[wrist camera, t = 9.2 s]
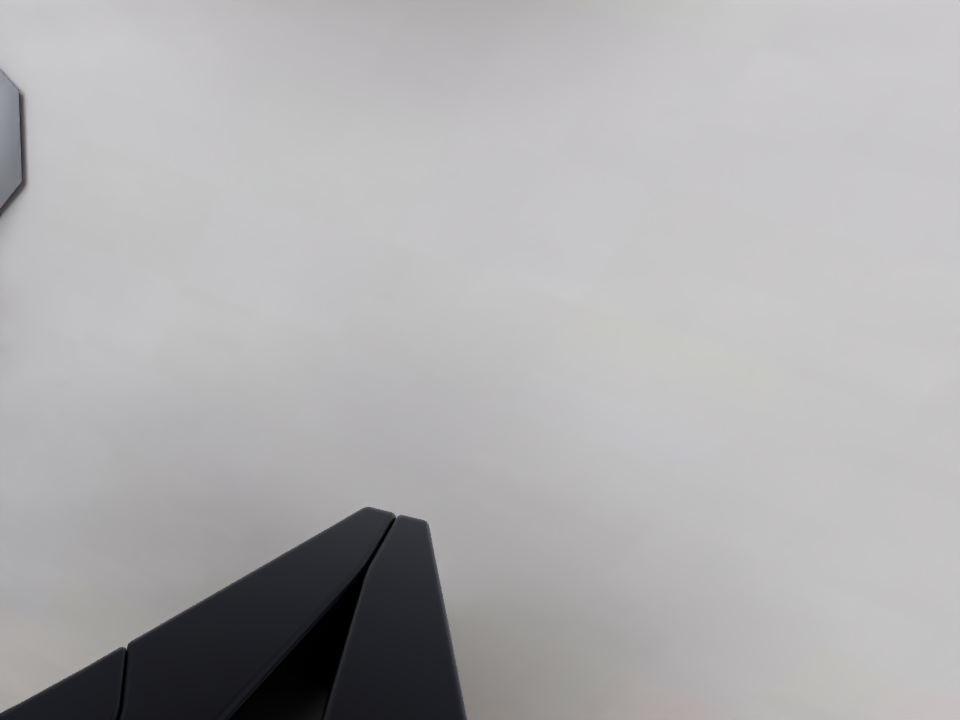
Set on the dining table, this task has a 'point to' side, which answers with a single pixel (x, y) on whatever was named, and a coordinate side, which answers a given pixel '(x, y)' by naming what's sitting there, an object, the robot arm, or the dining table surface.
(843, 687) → the dining table surface
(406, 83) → the dining table surface
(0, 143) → the flask
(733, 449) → the dining table surface
